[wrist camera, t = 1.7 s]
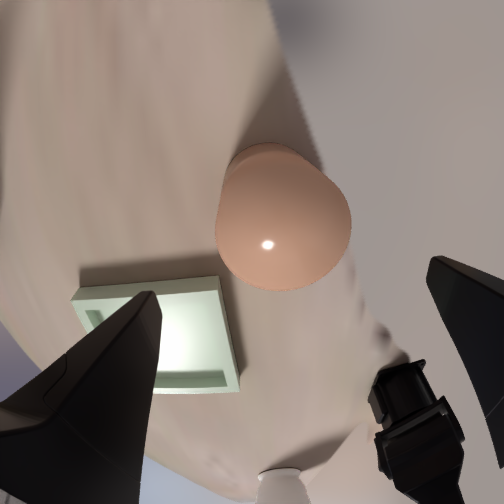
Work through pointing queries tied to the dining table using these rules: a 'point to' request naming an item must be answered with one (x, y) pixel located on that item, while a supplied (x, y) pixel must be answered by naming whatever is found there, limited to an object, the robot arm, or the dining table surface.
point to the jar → (281, 487)
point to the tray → (177, 331)
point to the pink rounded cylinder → (280, 219)
